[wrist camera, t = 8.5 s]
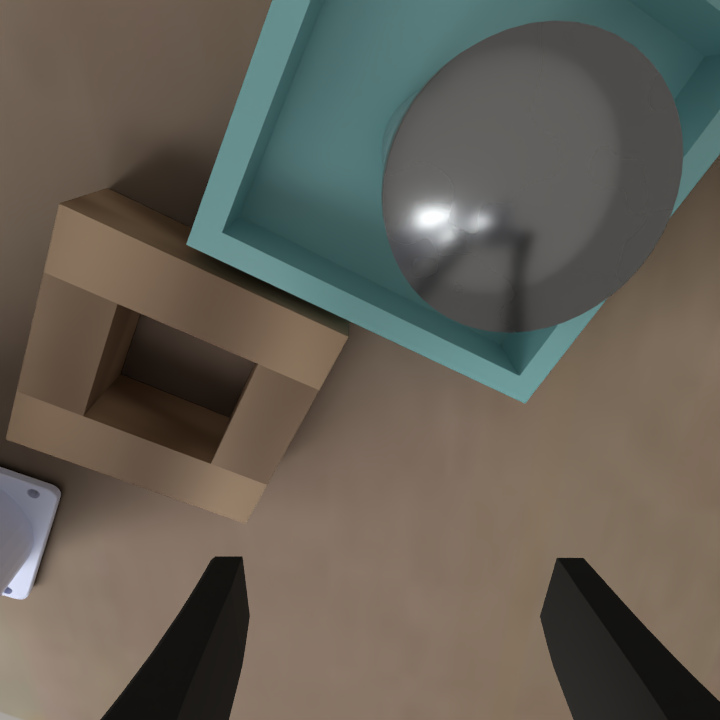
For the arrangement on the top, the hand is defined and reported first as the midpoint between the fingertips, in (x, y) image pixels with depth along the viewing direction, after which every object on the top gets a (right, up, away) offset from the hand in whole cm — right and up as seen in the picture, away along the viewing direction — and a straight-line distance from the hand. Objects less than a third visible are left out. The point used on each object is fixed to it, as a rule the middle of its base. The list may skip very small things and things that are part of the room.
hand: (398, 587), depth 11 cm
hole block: (-7, +6, +8) cm, 12 cm away
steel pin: (+2, +12, +4) cm, 13 cm away
